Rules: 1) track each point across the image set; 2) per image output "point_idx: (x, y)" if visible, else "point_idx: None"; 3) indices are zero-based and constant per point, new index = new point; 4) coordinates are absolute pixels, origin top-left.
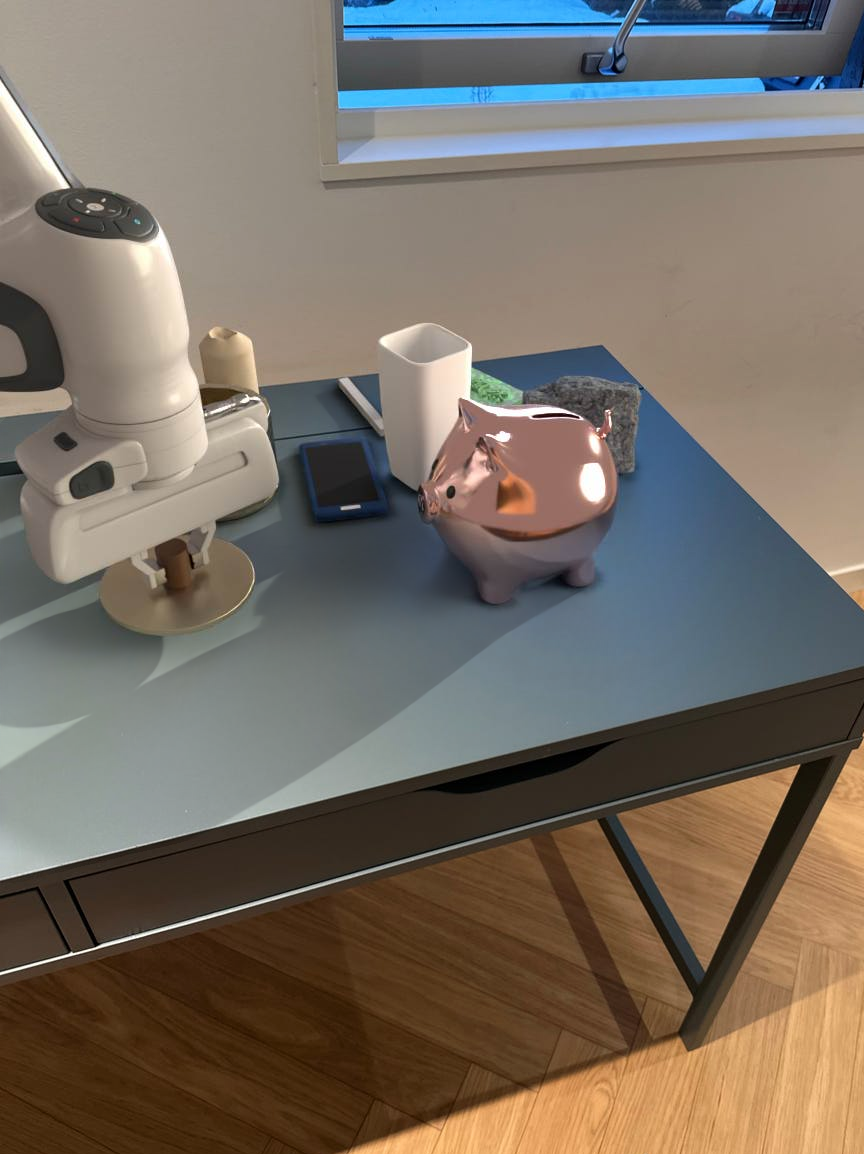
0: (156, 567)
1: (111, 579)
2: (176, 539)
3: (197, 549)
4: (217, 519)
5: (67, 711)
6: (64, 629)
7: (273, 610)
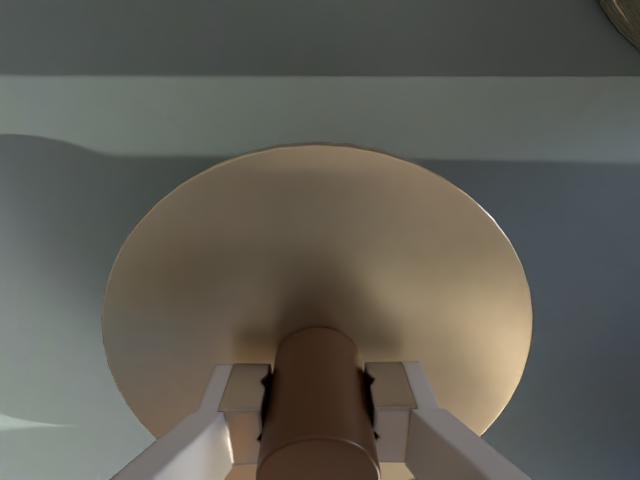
0: (245, 452)
1: (155, 257)
2: (362, 462)
3: (405, 449)
4: (631, 37)
5: (25, 402)
6: (56, 206)
7: None
